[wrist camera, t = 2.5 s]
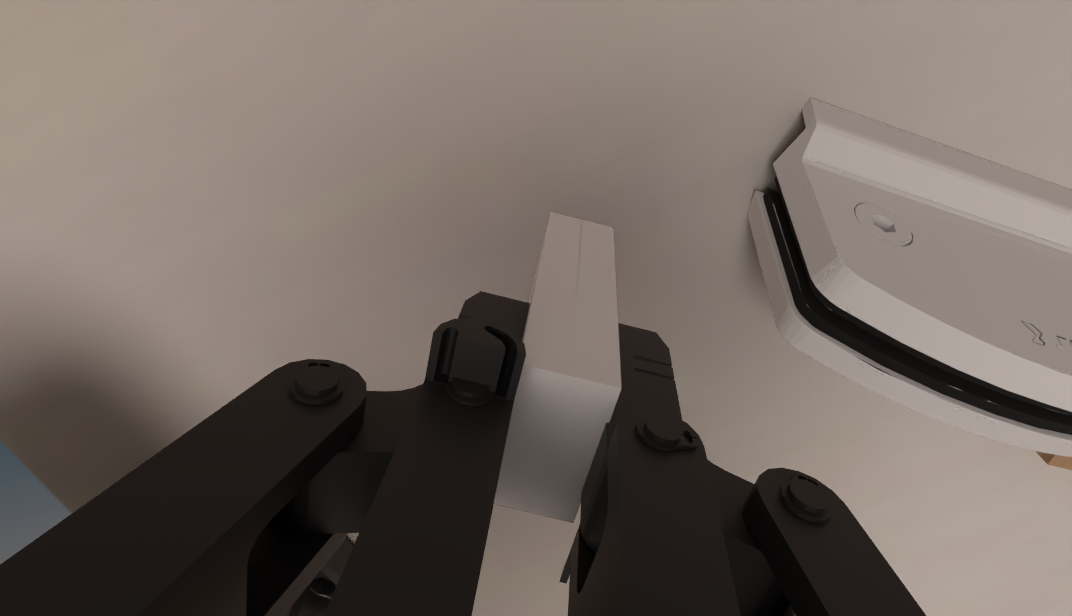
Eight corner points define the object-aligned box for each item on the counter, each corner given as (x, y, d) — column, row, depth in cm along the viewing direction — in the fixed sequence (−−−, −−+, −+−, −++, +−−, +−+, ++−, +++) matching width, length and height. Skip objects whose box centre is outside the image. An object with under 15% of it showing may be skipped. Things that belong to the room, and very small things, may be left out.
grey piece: (1188, 230, 25) (1367, 446, 19) (1083, 306, 29) (1201, 512, 22) (800, 93, 24) (840, 271, 17) (739, 190, 28) (752, 369, 21)
